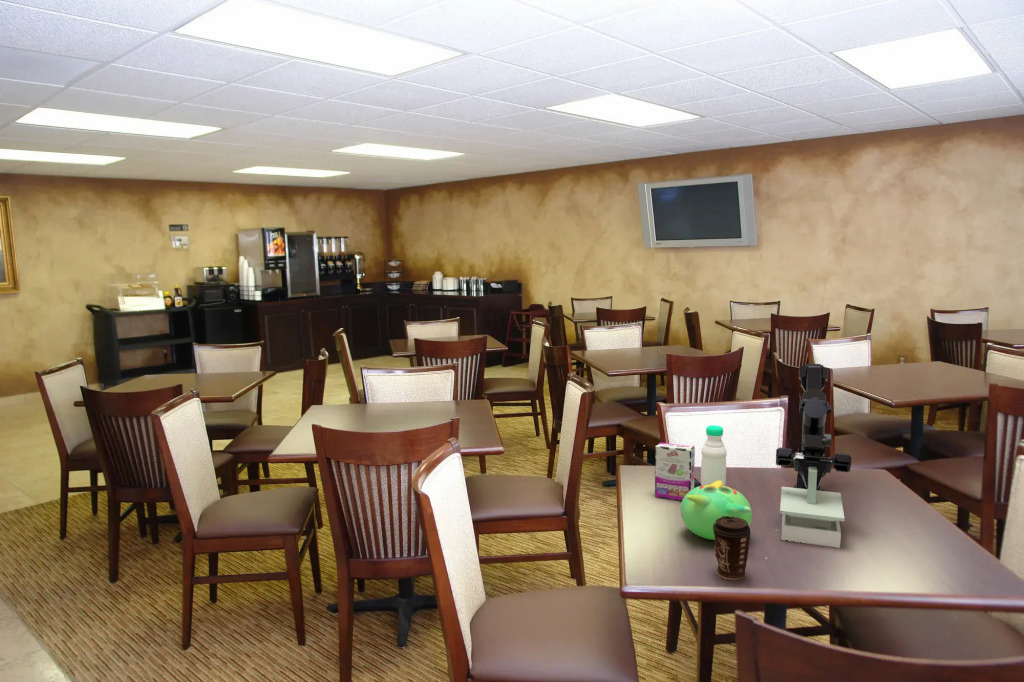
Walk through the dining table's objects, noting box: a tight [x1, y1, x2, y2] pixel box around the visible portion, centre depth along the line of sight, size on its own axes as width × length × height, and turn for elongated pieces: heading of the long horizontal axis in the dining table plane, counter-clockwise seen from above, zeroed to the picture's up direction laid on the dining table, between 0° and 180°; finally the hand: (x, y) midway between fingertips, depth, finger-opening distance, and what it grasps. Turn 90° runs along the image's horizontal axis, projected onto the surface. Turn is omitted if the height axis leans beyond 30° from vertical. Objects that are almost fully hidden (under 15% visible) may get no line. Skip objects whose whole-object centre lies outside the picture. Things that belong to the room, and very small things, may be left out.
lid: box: [779, 467, 845, 522], centre depth 189 cm, size 15×19×11 cm
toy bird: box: [680, 480, 753, 541], centre depth 186 cm, size 18×17×15 cm
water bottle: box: [700, 424, 728, 486], centre depth 205 cm, size 7×7×25 cm
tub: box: [780, 514, 842, 549], centre depth 191 cm, size 14×18×4 cm
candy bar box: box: [654, 442, 696, 502], centre depth 216 cm, size 11×5×16 cm, turn 62°
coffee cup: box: [713, 516, 751, 581], centre depth 166 cm, size 9×8×13 cm
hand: (812, 488), depth 188 cm, fingers closed on lid
